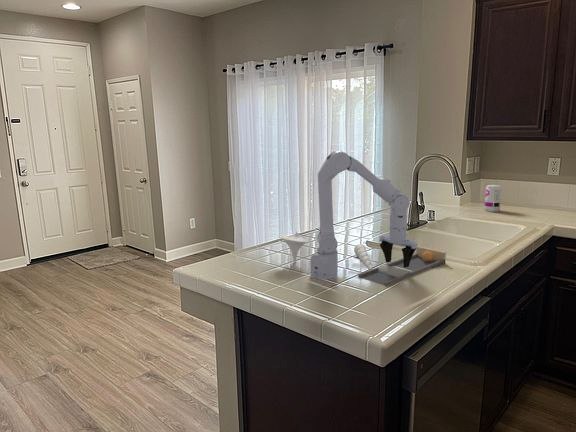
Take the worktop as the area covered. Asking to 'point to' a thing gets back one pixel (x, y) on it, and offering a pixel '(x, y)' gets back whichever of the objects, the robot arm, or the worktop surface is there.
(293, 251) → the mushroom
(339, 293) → the worktop surface
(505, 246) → the worktop surface
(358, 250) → the unicorn horn
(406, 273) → the divided tray
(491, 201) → the supplement can
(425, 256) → the ball
